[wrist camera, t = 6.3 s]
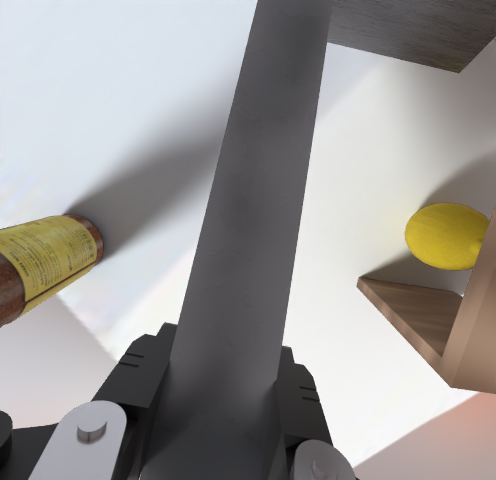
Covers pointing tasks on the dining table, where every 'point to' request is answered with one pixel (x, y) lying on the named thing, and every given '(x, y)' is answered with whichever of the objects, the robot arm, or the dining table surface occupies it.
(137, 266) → the dining table surface
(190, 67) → the dining table surface
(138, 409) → the robot arm
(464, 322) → the small wooden stool
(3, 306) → the sauce bottle
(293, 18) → the crook tool
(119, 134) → the dining table surface
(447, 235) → the lemon
